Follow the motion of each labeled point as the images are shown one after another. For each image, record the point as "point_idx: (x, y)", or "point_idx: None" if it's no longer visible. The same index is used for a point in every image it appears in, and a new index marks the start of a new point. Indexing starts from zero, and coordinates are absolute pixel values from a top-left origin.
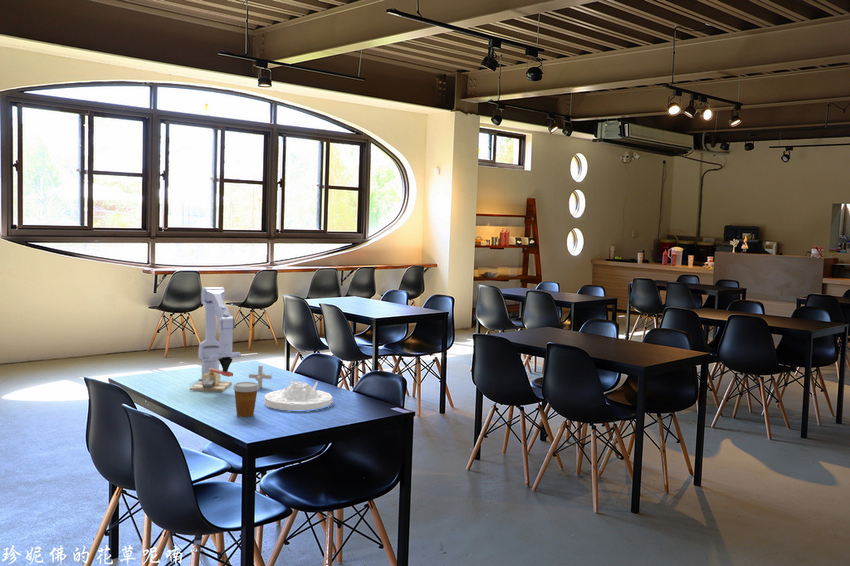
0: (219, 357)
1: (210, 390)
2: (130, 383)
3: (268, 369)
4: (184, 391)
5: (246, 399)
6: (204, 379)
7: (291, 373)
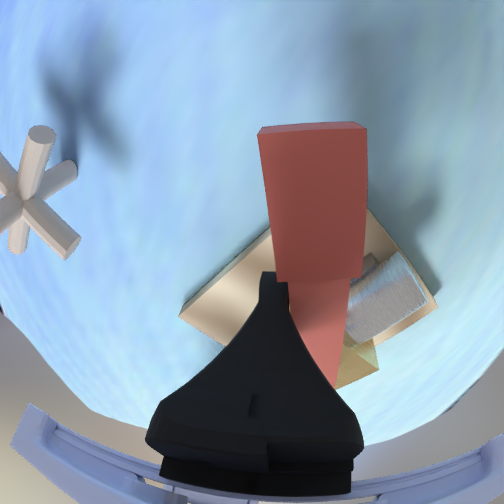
0: (385, 495)
1: (384, 229)
2: (433, 410)
3: (55, 363)
4: (455, 295)
5: None
6: (369, 341)
7: (4, 305)
